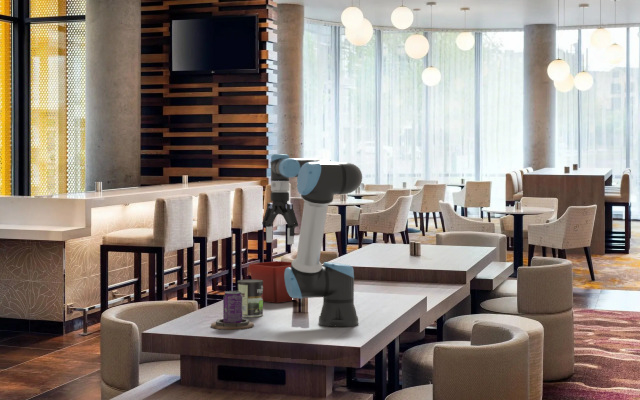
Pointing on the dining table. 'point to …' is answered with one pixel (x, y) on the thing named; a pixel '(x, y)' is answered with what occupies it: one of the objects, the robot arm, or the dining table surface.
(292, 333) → the dining table surface
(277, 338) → the dining table surface
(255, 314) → the coffee can
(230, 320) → the beverage can
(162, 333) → the dining table surface
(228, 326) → the coaster
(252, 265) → the plant pot
